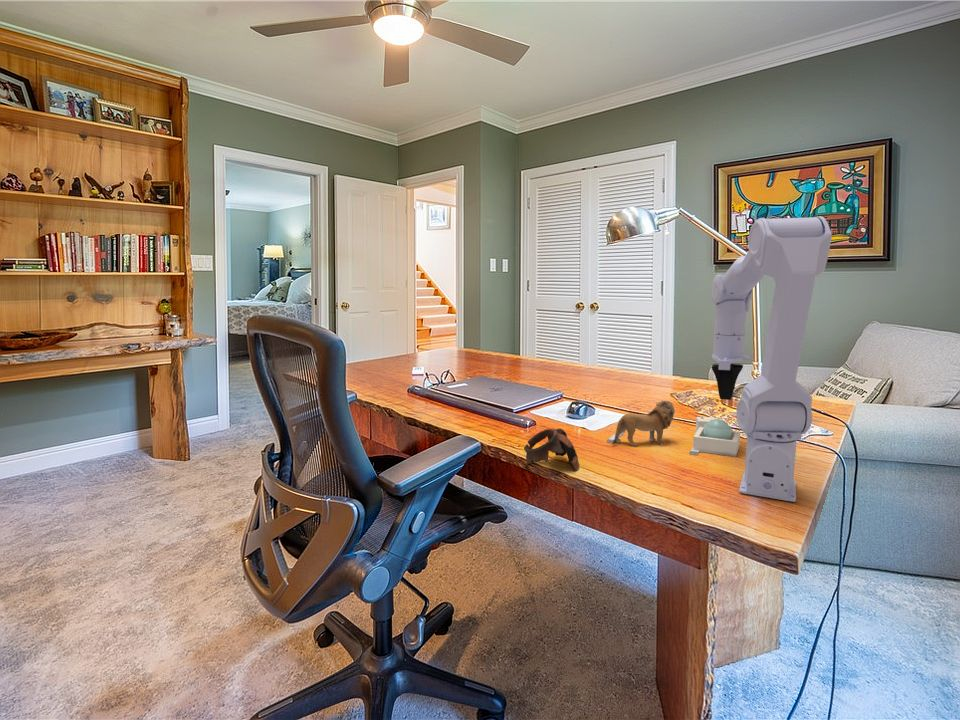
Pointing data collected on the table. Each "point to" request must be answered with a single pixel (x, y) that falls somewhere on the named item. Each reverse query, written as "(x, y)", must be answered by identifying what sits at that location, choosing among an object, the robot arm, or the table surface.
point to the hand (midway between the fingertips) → (725, 398)
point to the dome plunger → (717, 429)
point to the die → (702, 421)
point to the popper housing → (716, 443)
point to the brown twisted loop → (551, 447)
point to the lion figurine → (646, 422)
